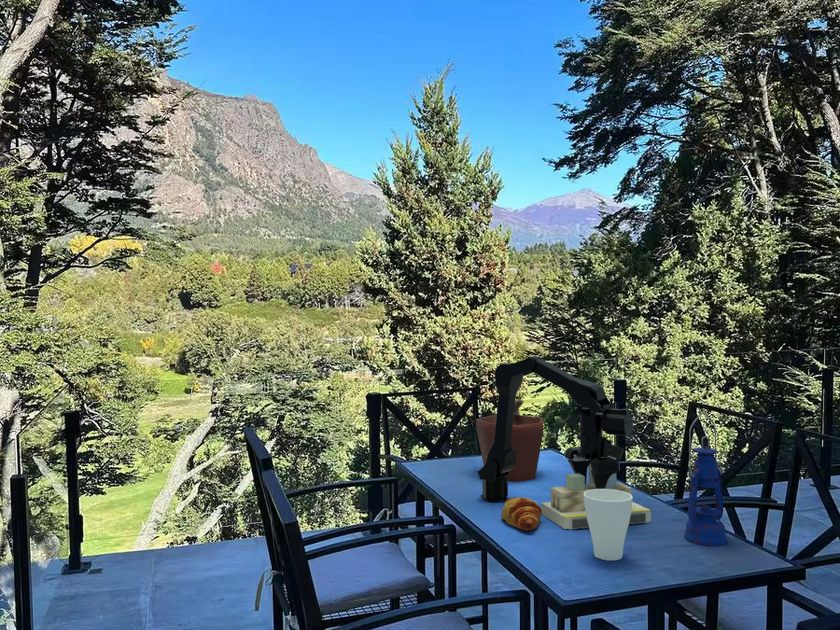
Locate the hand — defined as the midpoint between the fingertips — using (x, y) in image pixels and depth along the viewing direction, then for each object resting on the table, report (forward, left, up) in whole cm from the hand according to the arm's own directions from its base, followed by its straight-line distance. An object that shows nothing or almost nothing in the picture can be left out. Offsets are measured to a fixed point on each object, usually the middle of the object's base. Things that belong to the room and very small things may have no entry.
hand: (591, 491), depth 177 cm
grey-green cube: (-5, 0, +1) cm, 5 cm away
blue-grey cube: (+5, 0, +1) cm, 5 cm away
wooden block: (0, 0, -4) cm, 4 cm away
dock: (+1, 0, -7) cm, 7 cm away
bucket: (-2, +49, -7) cm, 50 cm away
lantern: (+18, -22, -7) cm, 29 cm away
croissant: (-19, +2, -7) cm, 20 cm away
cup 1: (+20, +30, -7) cm, 37 cm away
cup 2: (-10, -26, -7) cm, 29 cm away
